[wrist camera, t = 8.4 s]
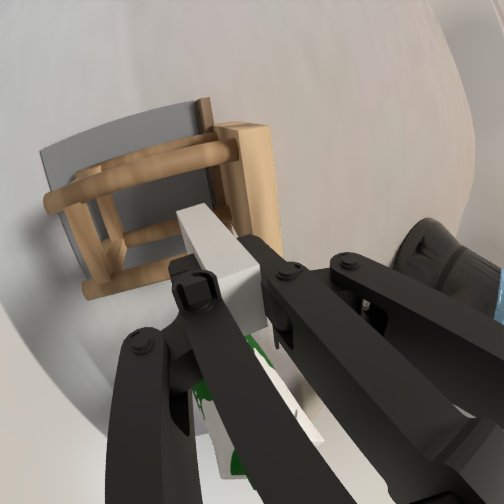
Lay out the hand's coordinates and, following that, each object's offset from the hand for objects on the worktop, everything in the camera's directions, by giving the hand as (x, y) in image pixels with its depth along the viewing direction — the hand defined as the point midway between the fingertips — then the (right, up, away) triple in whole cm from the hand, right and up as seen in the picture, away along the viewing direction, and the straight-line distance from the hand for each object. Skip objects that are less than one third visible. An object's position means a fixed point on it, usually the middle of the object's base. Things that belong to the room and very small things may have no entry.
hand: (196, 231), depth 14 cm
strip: (-1, +6, +10) cm, 12 cm away
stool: (+3, +4, +6) cm, 8 cm away
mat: (-8, +4, +8) cm, 12 cm away
